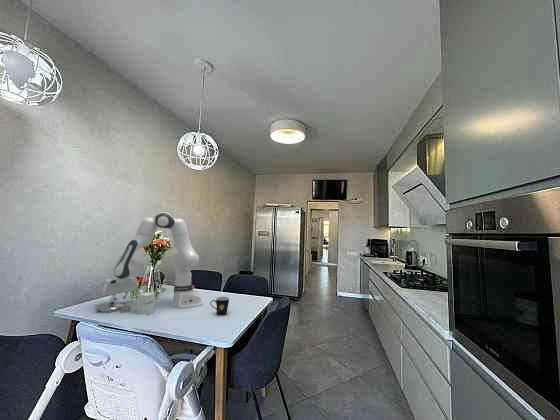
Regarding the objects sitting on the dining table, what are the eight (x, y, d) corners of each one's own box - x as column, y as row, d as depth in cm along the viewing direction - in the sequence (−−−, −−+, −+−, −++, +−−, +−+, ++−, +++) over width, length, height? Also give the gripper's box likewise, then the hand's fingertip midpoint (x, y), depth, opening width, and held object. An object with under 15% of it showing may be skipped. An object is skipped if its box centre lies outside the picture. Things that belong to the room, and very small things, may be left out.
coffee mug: (230, 312, 160) (231, 297, 161) (223, 316, 152) (224, 301, 153) (216, 310, 164) (217, 295, 165) (208, 314, 156) (209, 298, 157)
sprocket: (125, 303, 165) (125, 296, 165) (124, 311, 151) (124, 303, 151) (97, 306, 157) (98, 299, 157) (94, 314, 143) (95, 306, 143)
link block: (130, 312, 153) (131, 305, 153) (129, 314, 150) (130, 307, 150) (121, 313, 151) (122, 305, 151) (120, 315, 148) (121, 307, 148)
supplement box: (143, 316, 147) (145, 295, 148) (135, 314, 150) (137, 294, 151) (153, 313, 154) (155, 293, 155) (145, 311, 156) (147, 291, 158)
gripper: (136, 276, 175) (134, 295, 173) (103, 280, 159) (100, 301, 158) (139, 278, 171) (137, 297, 169) (105, 282, 155) (103, 303, 154)
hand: (119, 299), depth 163 cm, fingers open, 4 cm apart
